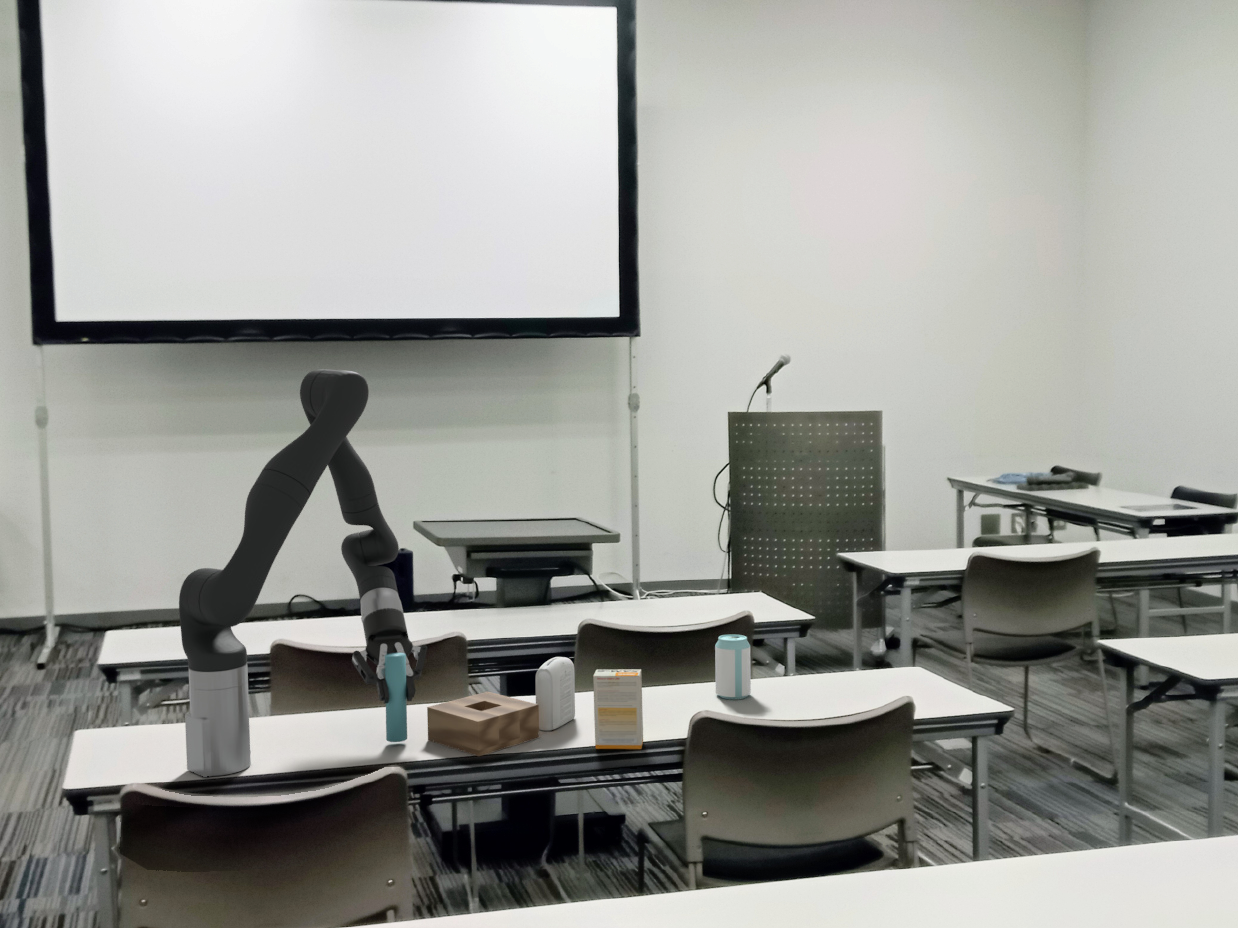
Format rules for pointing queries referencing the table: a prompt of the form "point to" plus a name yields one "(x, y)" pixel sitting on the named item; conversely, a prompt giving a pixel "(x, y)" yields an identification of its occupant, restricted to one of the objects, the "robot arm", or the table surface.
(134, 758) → the table surface
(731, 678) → the can
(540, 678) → the photo printer
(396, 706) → the pin
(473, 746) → the socket block
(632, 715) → the supplement box
